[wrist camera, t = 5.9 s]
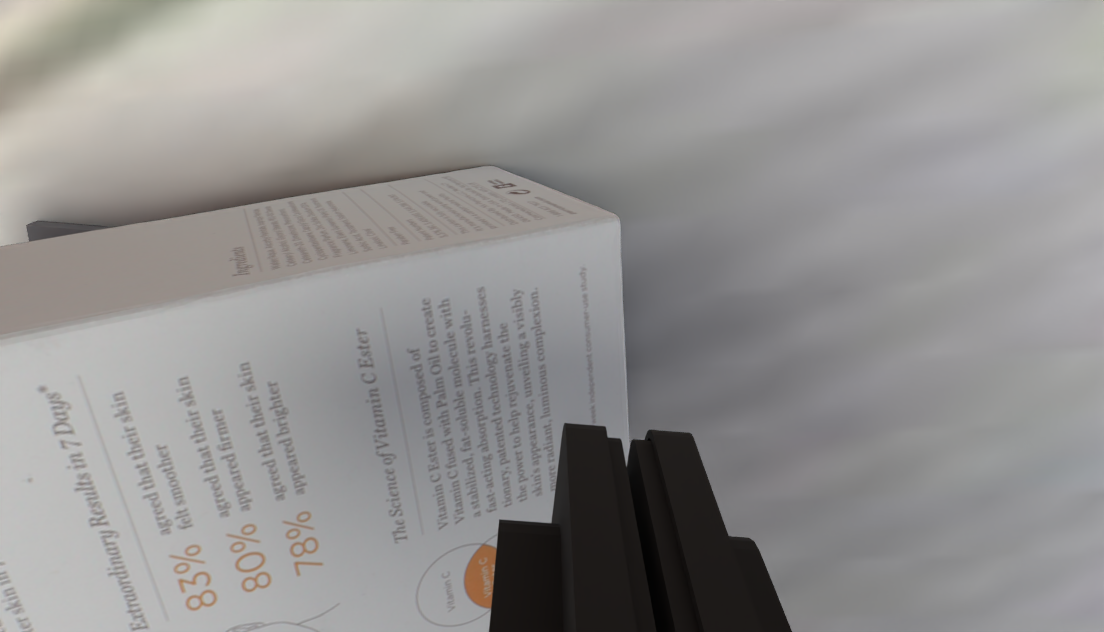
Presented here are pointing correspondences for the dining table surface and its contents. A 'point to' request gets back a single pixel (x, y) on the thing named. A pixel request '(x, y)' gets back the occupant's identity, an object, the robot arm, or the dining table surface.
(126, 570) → the small box
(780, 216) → the dining table surface
